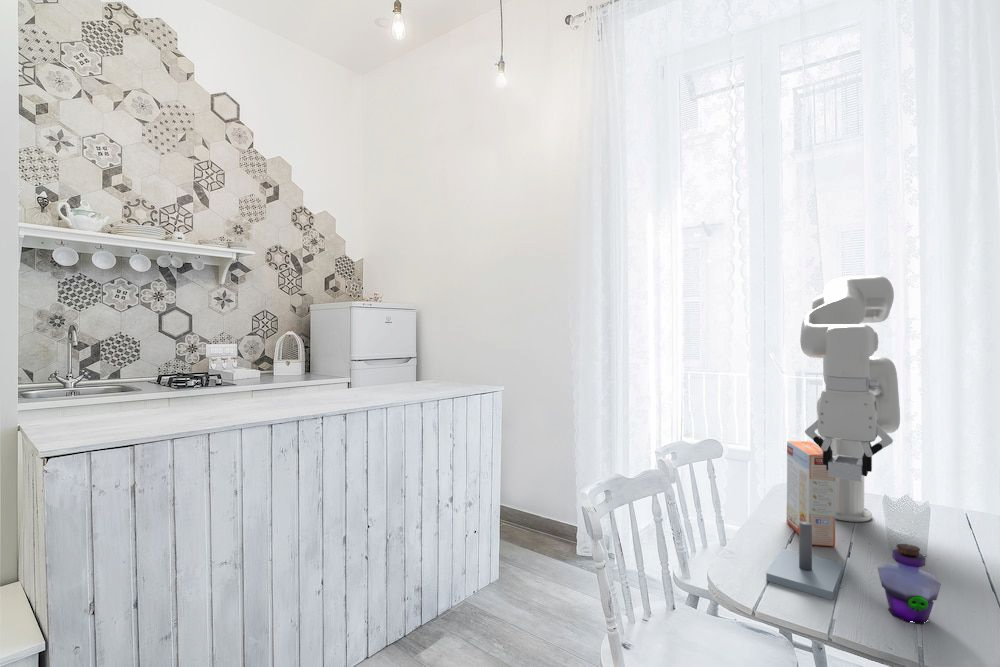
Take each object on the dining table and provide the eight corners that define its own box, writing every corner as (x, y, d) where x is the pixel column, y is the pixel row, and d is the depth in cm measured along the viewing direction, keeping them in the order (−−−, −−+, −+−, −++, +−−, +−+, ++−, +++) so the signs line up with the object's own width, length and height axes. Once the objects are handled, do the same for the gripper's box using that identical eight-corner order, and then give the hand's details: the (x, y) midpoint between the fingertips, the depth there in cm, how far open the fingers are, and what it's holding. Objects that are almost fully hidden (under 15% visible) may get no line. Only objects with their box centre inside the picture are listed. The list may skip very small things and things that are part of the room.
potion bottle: (905, 631, 83) (905, 558, 83) (864, 602, 92) (865, 536, 91) (955, 628, 83) (956, 556, 83) (910, 600, 92) (910, 534, 92)
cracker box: (837, 548, 113) (837, 455, 113) (807, 546, 114) (807, 454, 114) (812, 523, 127) (812, 440, 126) (785, 521, 128) (785, 439, 127)
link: (833, 467, 110) (833, 454, 110) (865, 472, 107) (865, 458, 106) (828, 476, 104) (828, 462, 104) (861, 481, 100) (861, 466, 100)
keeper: (782, 555, 110) (782, 507, 110) (843, 570, 103) (843, 519, 103) (766, 580, 99) (766, 527, 99) (832, 600, 92) (832, 543, 92)
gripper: (900, 386, 102) (900, 475, 103) (802, 380, 113) (802, 461, 114) (898, 390, 97) (898, 484, 97) (796, 384, 108) (796, 468, 108)
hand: (846, 470), depth 105 cm, fingers closed on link, 5 cm apart
